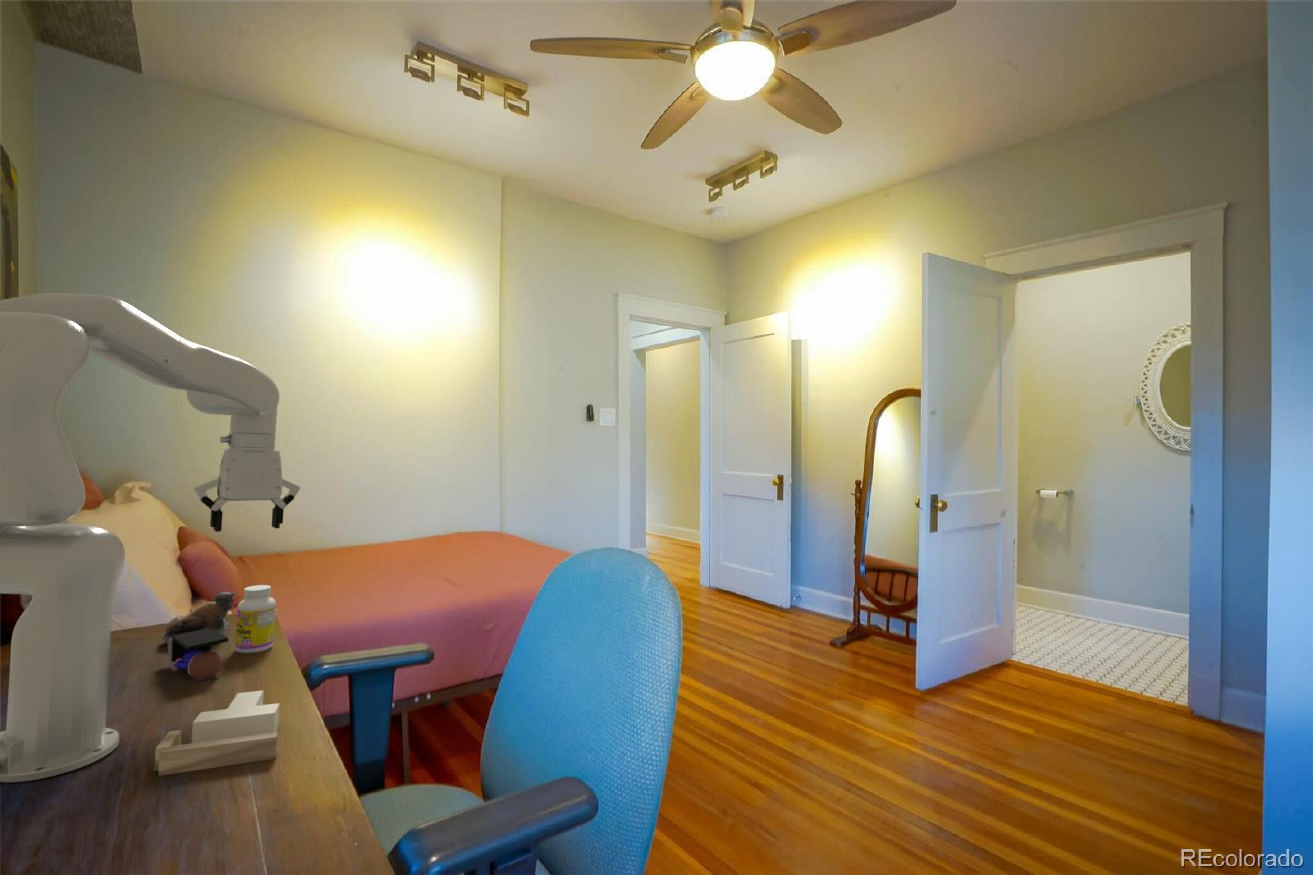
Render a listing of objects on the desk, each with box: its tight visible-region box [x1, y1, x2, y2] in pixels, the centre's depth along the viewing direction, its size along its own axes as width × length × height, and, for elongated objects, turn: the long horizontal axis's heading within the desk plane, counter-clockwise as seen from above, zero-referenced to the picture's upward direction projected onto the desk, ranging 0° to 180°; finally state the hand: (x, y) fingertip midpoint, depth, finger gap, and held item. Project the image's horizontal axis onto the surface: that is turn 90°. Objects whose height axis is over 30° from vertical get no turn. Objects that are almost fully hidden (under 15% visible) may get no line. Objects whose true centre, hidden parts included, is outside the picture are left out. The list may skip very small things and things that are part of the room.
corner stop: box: [153, 729, 280, 777], centre depth 81 cm, size 6×14×3 cm, turn 113°
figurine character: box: [167, 628, 229, 681], centre depth 110 cm, size 7×8×15 cm
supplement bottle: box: [234, 584, 276, 654], centre depth 123 cm, size 7×7×13 cm
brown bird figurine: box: [161, 590, 235, 643], centre depth 127 cm, size 12×7×10 cm, turn 119°
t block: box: [191, 690, 281, 744], centre depth 90 cm, size 10×10×4 cm
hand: (247, 529), depth 115 cm, fingers open, 9 cm apart
